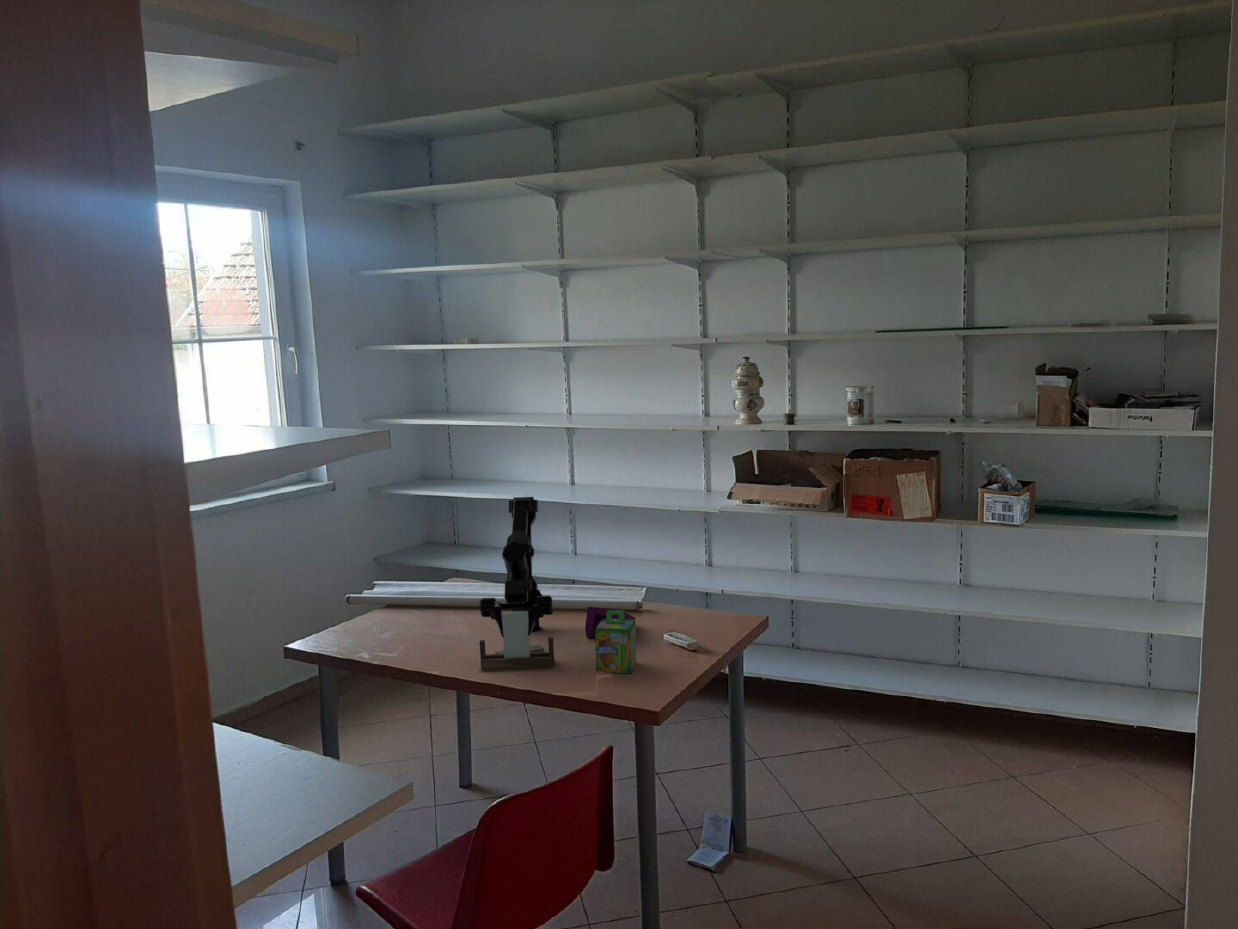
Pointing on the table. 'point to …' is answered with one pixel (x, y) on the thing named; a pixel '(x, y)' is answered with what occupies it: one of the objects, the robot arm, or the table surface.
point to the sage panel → (516, 634)
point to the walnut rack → (517, 660)
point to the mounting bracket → (599, 619)
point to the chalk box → (615, 643)
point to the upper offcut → (533, 649)
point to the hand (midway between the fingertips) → (515, 635)
